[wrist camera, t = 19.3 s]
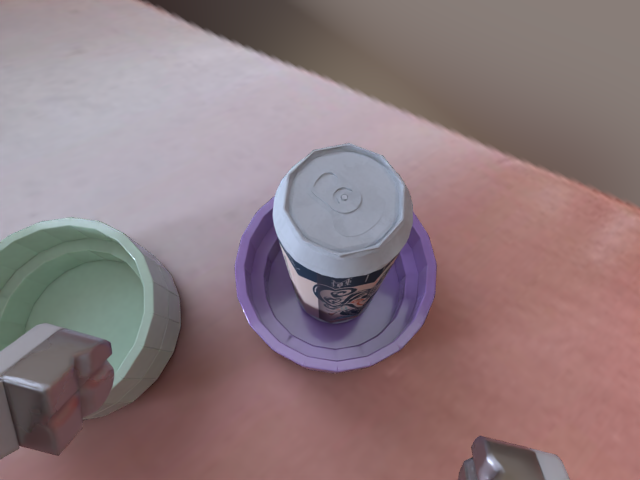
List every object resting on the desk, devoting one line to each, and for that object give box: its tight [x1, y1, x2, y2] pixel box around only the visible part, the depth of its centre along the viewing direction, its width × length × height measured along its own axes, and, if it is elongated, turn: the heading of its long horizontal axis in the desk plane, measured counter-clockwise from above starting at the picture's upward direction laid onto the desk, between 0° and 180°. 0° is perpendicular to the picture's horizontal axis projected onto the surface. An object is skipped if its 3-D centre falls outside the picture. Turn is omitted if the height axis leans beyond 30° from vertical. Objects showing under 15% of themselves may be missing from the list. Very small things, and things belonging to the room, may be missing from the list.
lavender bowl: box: [235, 196, 437, 374], centre depth 22 cm, size 10×10×4 cm
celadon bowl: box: [0, 217, 181, 420], centre depth 21 cm, size 10×10×4 cm
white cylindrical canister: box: [273, 143, 413, 324], centre depth 18 cm, size 5×5×12 cm
